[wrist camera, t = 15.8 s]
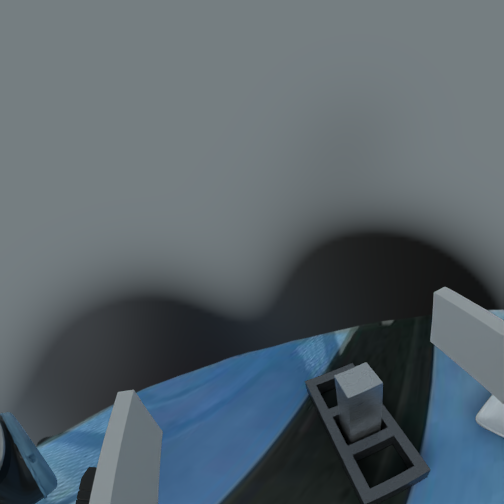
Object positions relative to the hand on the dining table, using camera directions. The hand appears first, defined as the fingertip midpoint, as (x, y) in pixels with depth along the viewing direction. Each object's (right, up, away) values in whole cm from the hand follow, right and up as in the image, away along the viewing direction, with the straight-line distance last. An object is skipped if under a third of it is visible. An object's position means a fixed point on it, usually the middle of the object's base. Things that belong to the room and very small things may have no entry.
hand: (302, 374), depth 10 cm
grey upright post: (+14, -22, +24) cm, 35 cm away
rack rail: (+14, -22, +24) cm, 35 cm away
